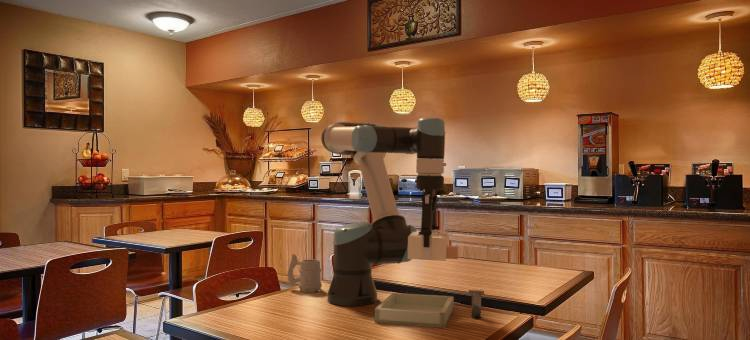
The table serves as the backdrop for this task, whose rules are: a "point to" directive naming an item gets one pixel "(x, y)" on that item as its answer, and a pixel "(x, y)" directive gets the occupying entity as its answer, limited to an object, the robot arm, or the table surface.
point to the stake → (476, 303)
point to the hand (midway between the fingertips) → (428, 255)
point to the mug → (306, 274)
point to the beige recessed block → (438, 247)
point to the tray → (415, 310)
